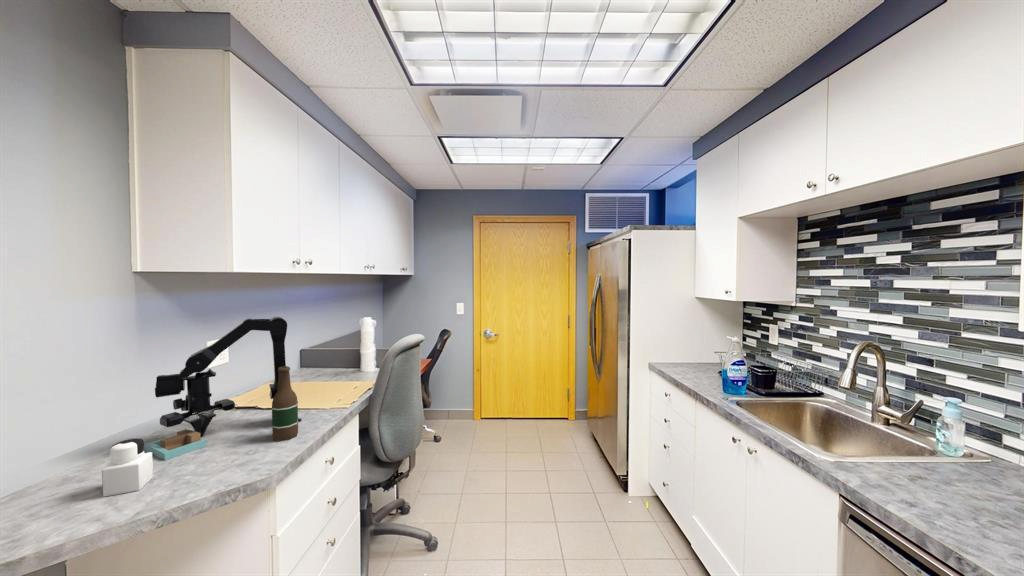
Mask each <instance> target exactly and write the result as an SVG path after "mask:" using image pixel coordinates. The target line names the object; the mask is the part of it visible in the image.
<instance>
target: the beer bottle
mask: <svg viewBox="0 0 1024 576" xmlns="http://www.w3.org/2000/svg"><path fill="white" fill-rule="evenodd" d="M290 370H291V368H290V366H287V365H286V366H283V367H279V368H278V372H279V377H278V391H277V393H276V395H275V396H274V399H273V398H272V402H271V420H272V421H271V424H272V425H271V426H272V427H271V429H272V431H271V432H272V440H273V441H276V442H283V441H285V442H286V441H290V440H293V439H295V438H297V437H298V433H299V422H298V418H299V411H298V410H299V409H298V407H299V406H298V404H299V402H298V396H297V394H296V393H295V391H294V390H293V389H292V385H291V375H290Z"/></svg>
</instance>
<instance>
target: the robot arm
mask: <svg viewBox="0 0 1024 576" xmlns="http://www.w3.org/2000/svg"><path fill="white" fill-rule="evenodd" d="M250 331H262V332H269V335H270V339H271V342H272V354H273V355H272V357H273V375H274V378H273V379H274V380H273V383H269V388H270V389H269V390H270V392H269V398H270V400H273V399H274V396H275V395H276V393H277V391H278V377H279V372H278V368H279V367H283V366H287V365H286V364H287V363H286V361H287V360H286V347H285V346H286V343H285V342H286V337H287V331H288V323H287V321H286V320H285V318H283V317H281V316H273V317H271V318H246V319H244V320H243V321H242V322H241V323H240V324H238V325H237V326H236V327H234V328H233V329H231V330H230V331H229V332H227V333H226V334H225V335H223V336H222V337H220V338H219V339H218V340H217V341H215V342H214V343H212V344H210V345H209V346H206V347H204V348H202V349H200V350H198V351H196V352H195V353H193V354H191V355H190V356H188V358H187V359H186V361H185V362H184V363H185V364H184V366H185V367H183V369H181V370H180V372H179V373H173V374H160V375H157V376H156V380H155V381H156V382H155V387H154V394H155V398H164V397H169V396H176V395H181V393H182V392H183V391H185V389H186V390H187V393H186V394H185V399H182V398H177V399H173V401H172V405H173V406H172V407H173V409H174V410H180V411H181V412H183V413H180V412H177V411H173V412H170V413H166V414H162V415H161V417H160V418H159V425H160V426H163V427H165V428H171V427H174V426H177V425H181V424H182V423H183V422H185V423H188V424H190V425H191V427H192V428H193V429H194V430H193V431H195V432H199V433H200V437H201V438H203V437H204V435H205V433H206V431H207V429H208V427H209V425H210V423H211V421H212V420H213V419H214V418H215V417H216V416H217V414H216V413H215V411H217V410H221V409H222V410H223V411H224V412H227V411H231V410H234V409H235V408H236V403H235V400H231V399H228V398H223V399H220V400H216V401H215V402H214V403H213V405H211V397H212V394H213V393H211V391H210V390H211V389H210V378H212V377H216V376H217V372H215V371H213V370H212V369H211V368H209V369H208V370H207V371H205V370H206V369H207V368H208V367H209V366H210V365H211V364H212V363H213V362H214V361H215V360H216V358H218V356H219V355H220V354H222V352H224V351H225V350H227V349H228V348H229V347H231V346H232V345H234V344H235V343H236V342H238V341H239V340H240V339H242V338H243V337H244V336H246V335H247V334H248V333H249V332H250ZM193 374H195V375H193ZM301 421H302V418H299V417H298V423H299V422H301Z"/></svg>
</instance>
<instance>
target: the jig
mask: <svg viewBox="0 0 1024 576" xmlns="http://www.w3.org/2000/svg"><path fill="white" fill-rule="evenodd" d="M175 435H176V434H173V435H172V436H175ZM172 436H167V437H165V438H161V439H157V440H155V441H150V442H147V443H144V451H146V452H147V453H149V452H152V455H154V456H155V457H157V458H160V459H161V460H163V461H169V460H171V459H173V458H175V457H178V456H179V457H180V456H182V455H185V454H187V453H191V452H193V451H195V450H199V449H202V448H205V447H207V446H208V443H207V442H208V441H207V439H206V438H203V439H201V440H200V441H197V442H194V443H190V444H187V445H184V446H181V447H178V448H175V449H172V450H167V449H165V448H162V447H161V442H160V440H163V439H166V438H169V437H172Z"/></svg>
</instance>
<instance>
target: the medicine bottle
mask: <svg viewBox="0 0 1024 576" xmlns="http://www.w3.org/2000/svg"><path fill="white" fill-rule="evenodd" d="M109 448H110V463H108V464H107V465H106V466H104V467H103V468H102V469H101V478H102V479H101V480H102V481H101V482H102V483H101V485H102V496H103V497H111V496H117V495H121V494H123V495H124V494H128V493H133V492H139V491H140V490H141V489H143V487H145V486H146V485H147V483H149V481H150V480H152V478H154V466H153V461H154V460H153V454H152V452H145V442H144V439H142V438H129V439H124V440H121V441H118V442H116V443H115V444H113V445H112V446H111V447H109Z"/></svg>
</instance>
